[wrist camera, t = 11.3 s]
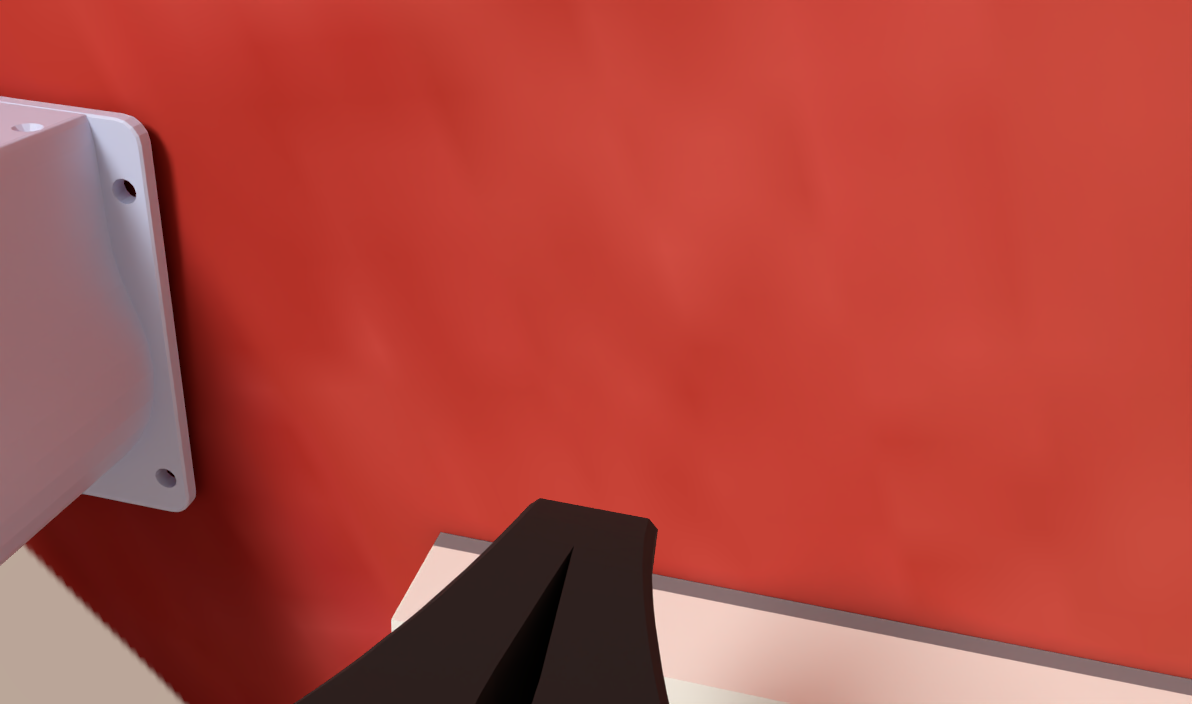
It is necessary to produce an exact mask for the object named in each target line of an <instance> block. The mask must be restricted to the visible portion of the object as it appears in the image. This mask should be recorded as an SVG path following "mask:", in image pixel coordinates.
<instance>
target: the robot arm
mask: <svg viewBox="0 0 1192 704" xmlns="http://www.w3.org/2000/svg"><path fill="white" fill-rule="evenodd" d="M124 180H127V181H129V182H130V183H131V184H132V185H133V186H134V188H135V191H136V197H134V196H132V195H131V194H130V193H129V192H128V191H127V190H126V188H125V185H124ZM167 470H169V471H170V472H172V473H173V474H174V476H175V477H172V476H171V475H170V474H169V473H168V472H167ZM81 494H86V495H91V496H96V497H101V498H106V499H111V500H116V501H121V502H126V503H131V504H136V505H141V506H146V507H151V508H156V509H161V510H166V511H171V512H181V511H183V510H185V509H186V508H187V507H188V506H189V505H190V504H191V503H192V502H193V500H194V499H195V497H196V487H195V479H194V472H193V464H192V456H191V449H190V441H189V433H188V425H187V418H186V410H185V402H184V395H183V387H182V379H181V372H180V364H179V356H178V348H177V341H176V333H175V325H174V318H173V310H172V302H171V295H170V287H169V279H168V271H167V264H166V256H165V248H164V241H163V233H162V225H161V217H160V210H159V202H158V194H157V187H156V179H155V171H154V164H153V156H152V148H151V141H150V138H149V135H148V132H147V130H146V129H145V127H144V126H143V124H142V123H141V122H139V121H138V120H137V119H136V118H134V117H133V116H130V115H127V114H123V113H116V112H109V111H102V110H95V109H87V108H80V107H73V106H66V105H59V104H52V103H44V102H37V101H30V100H23V99H16V98H9V97H1V96H0V565H1V564H3V563H4V562H5V561H6V560H7V559H8V558H9V557H10V556H12V555H13V554H14V553H15V552H16V551H17V550H18V549H20V548H21V547H22V546H23V545H24V544H25V543H26V542H28V541H29V540H30V539H31V538H32V537H33V536H34V535H35V534H37V533H38V532H39V531H40V530H41V529H42V528H43V527H45V526H46V525H47V524H48V523H49V522H50V521H51V520H52V519H54V518H55V517H56V516H57V515H58V514H59V513H60V512H62V511H63V510H64V509H65V508H66V507H67V506H68V505H70V504H71V503H72V502H73V501H74V500H75V499H76V498H77V497H79V496H80V495H81ZM657 532H658V529H657V528H656V527H655V526H654V524H653V523H652V522H651V521H650V519H648V518H642V517H637V516H632V515H626V514H621V513H616V512H610V511H605V510H600V509H594V508H589V507H584V506H579V505H573V504H568V503H563V502H557V501H552V500H547V499H541V498H540V499H538V500H536V501H535V502H533V503H532V504H530V505H529V506H528V507H527V508H526V509H525V510H524V511H523V512H522V513H521V514H520V516H519V517H518V518H517V519H516V520H515V521H514V522H513V523H512V524H511V525H510V526H509V527H508V528H507V529H506V530H505V531H504V532H503V533H502V534H501V535H500V536H499V537H498V538H497V539H496V540H495V541H494V542H493V543H492V544H491V545H490V546H489V547H488V548H487V549H486V550H485V551H484V552H483V553H482V554H481V555H480V556H479V557H477V558H476V559H475V560H474V561H473V562H472V563H471V564H470V565H469V566H468V567H467V568H466V569H465V570H464V571H463V572H461V573H460V574H459V575H458V576H457V577H456V578H455V579H454V580H453V581H451V582H450V583H449V584H448V585H447V586H446V587H445V588H444V589H442V590H441V591H440V592H439V593H438V594H437V595H436V596H435V597H434V598H432V599H431V600H430V601H429V602H428V603H427V604H426V605H425V606H423V607H422V608H421V609H420V610H419V611H417V612H416V613H415V614H414V615H413V616H411V617H410V618H409V619H408V620H406V621H405V622H404V623H403V624H401V625H400V626H399V627H398V628H396V629H395V630H394V631H393V632H391V633H390V634H389V635H388V636H386V637H385V638H384V639H383V640H381V641H380V642H379V643H377V644H376V645H375V646H374V647H372V648H371V649H370V650H369V651H367V652H366V653H365V654H364V655H362V656H361V657H360V658H358V659H357V660H356V661H354V662H353V663H352V664H350V665H349V666H347V667H346V668H345V669H343V670H342V671H341V672H339V673H338V674H336V675H335V676H334V677H332V678H331V679H329V680H328V681H327V682H325V683H324V684H322V685H321V686H319V687H318V688H317V689H315V690H314V691H312V692H310V693H309V694H307V695H306V696H304V697H303V698H301V699H300V700H298V701H297V702H295V703H294V704H669V700H668V696H667V691H666V686H665V680H664V675H663V670H662V664H661V657H660V651H659V644H658V637H657V631H656V624H655V614H654V604H653V586H652V571H653V563H654V555H655V547H656V539H657Z"/></svg>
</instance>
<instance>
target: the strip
mask: <svg viewBox="0 0 1192 704" xmlns="http://www.w3.org/2000/svg"><path fill="white" fill-rule="evenodd" d="M492 543H493V542H488V541H483V540H477V539H472V538H467V537H462V536H457V535H452V534H447V533H442V532H440V534H439V536H438V538H437V540H436V541H435V543H434V545H433V547H432V548H431V550H430V552H429V554H428V555H427V557H426V559H425V561H424V563H423V564H422V566H421V568H420V570H419V571H418V573H417V575H416V577H415V578H414V580H413V582H412V584H411V585H410V587H409V589H408V591H407V593H406V594H405V596H404V598H403V600H402V601H401V603H400V605H399V607H398V608H397V610H396V612H395V614H394V615H393V617H392V619H391V625H392V632H393V631H394V630H395V629H396V628H398V627H399V626H400V625H401V624H403V623H404V622H405V621H406V620H408V619H409V618H410V617H411V616H413V615H414V614H415V613H416V612H417V611H419V610H420V609H421V608H422V607H423V606H425V605H426V604H427V603H428V602H429V601H430V600H431V599H432V598H434V597H435V596H436V595H437V594H438V593H439V592H440V591H441V590H442V589H444V588H445V587H446V586H447V585H448V584H449V583H450V582H451V581H453V580H454V579H455V578H456V577H457V576H458V575H459V574H460V573H461V572H463V571H464V570H465V569H466V568H467V567H468V566H469V565H470V564H471V563H472V562H473V561H474V560H475V559H476V558H477V557H479V556H480V555H481V554H482V553H483V552H484V551H485V550H486V549H487V548H488V547H489V546H490V545H491V544H492ZM652 586H653V604H654V614H655V624H656V631H657V637H658V644H659V651H660V657H661V664H662V670H663V675H664V680H665V686H666V691H667V696H668V700H669V704H1192V679H1187V678H1182V677H1176V676H1171V675H1166V674H1161V673H1156V672H1151V671H1146V670H1141V669H1136V668H1131V667H1125V666H1120V665H1115V664H1110V663H1105V662H1100V661H1095V660H1090V659H1085V658H1080V657H1074V656H1069V655H1064V654H1059V653H1054V652H1049V651H1044V650H1039V649H1034V648H1029V647H1023V646H1018V645H1013V644H1008V643H1003V642H998V641H993V640H988V639H983V638H977V637H972V636H967V635H962V634H957V633H952V632H947V631H942V630H937V629H932V628H926V627H921V626H916V625H911V624H906V623H901V622H896V621H891V620H886V619H881V618H875V617H870V616H865V615H860V614H855V613H850V612H845V611H840V610H835V609H830V608H824V607H819V606H814V605H809V604H804V603H799V602H794V601H789V600H784V599H778V598H773V597H768V596H763V595H758V594H753V593H748V592H743V591H738V590H733V589H727V588H722V587H717V586H712V585H707V584H702V583H697V582H692V581H687V580H682V579H676V578H671V577H666V576H661V575H656V574H652Z"/></svg>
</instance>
